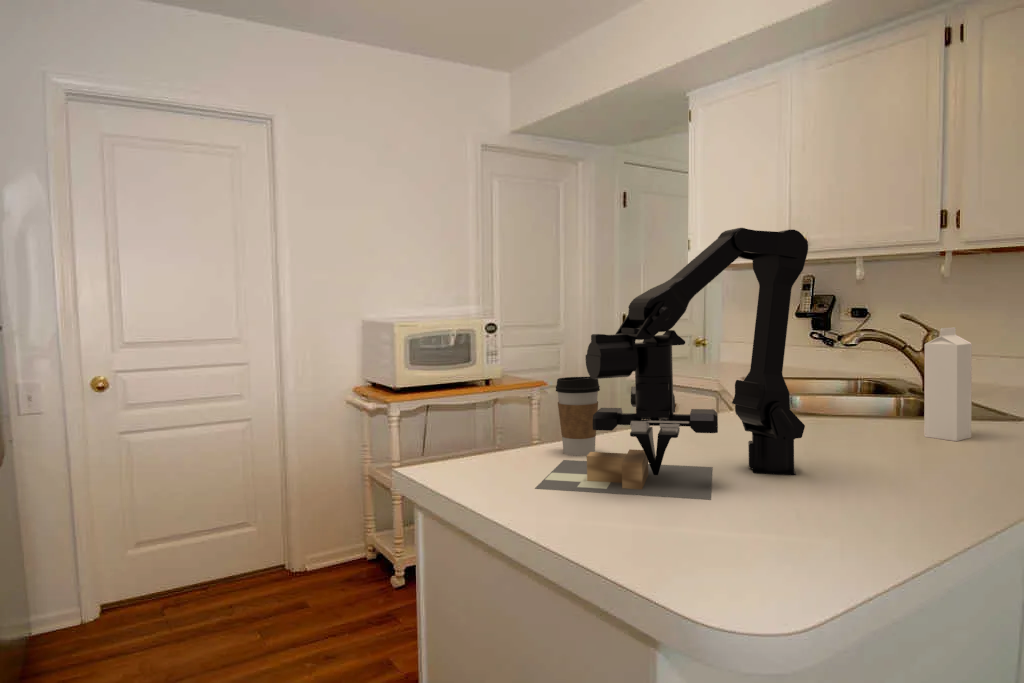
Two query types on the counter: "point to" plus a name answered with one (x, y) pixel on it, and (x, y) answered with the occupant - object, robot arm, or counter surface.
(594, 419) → the robot arm
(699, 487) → the mat
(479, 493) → the counter surface
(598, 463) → the t block
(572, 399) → the coffee cup
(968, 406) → the milk
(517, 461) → the counter surface
